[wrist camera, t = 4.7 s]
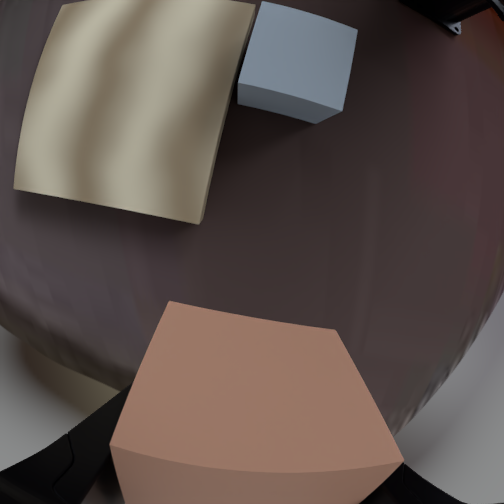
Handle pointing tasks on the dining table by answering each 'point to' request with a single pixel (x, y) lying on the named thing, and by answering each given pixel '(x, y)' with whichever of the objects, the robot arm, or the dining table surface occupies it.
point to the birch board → (133, 103)
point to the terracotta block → (248, 416)
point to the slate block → (297, 64)
